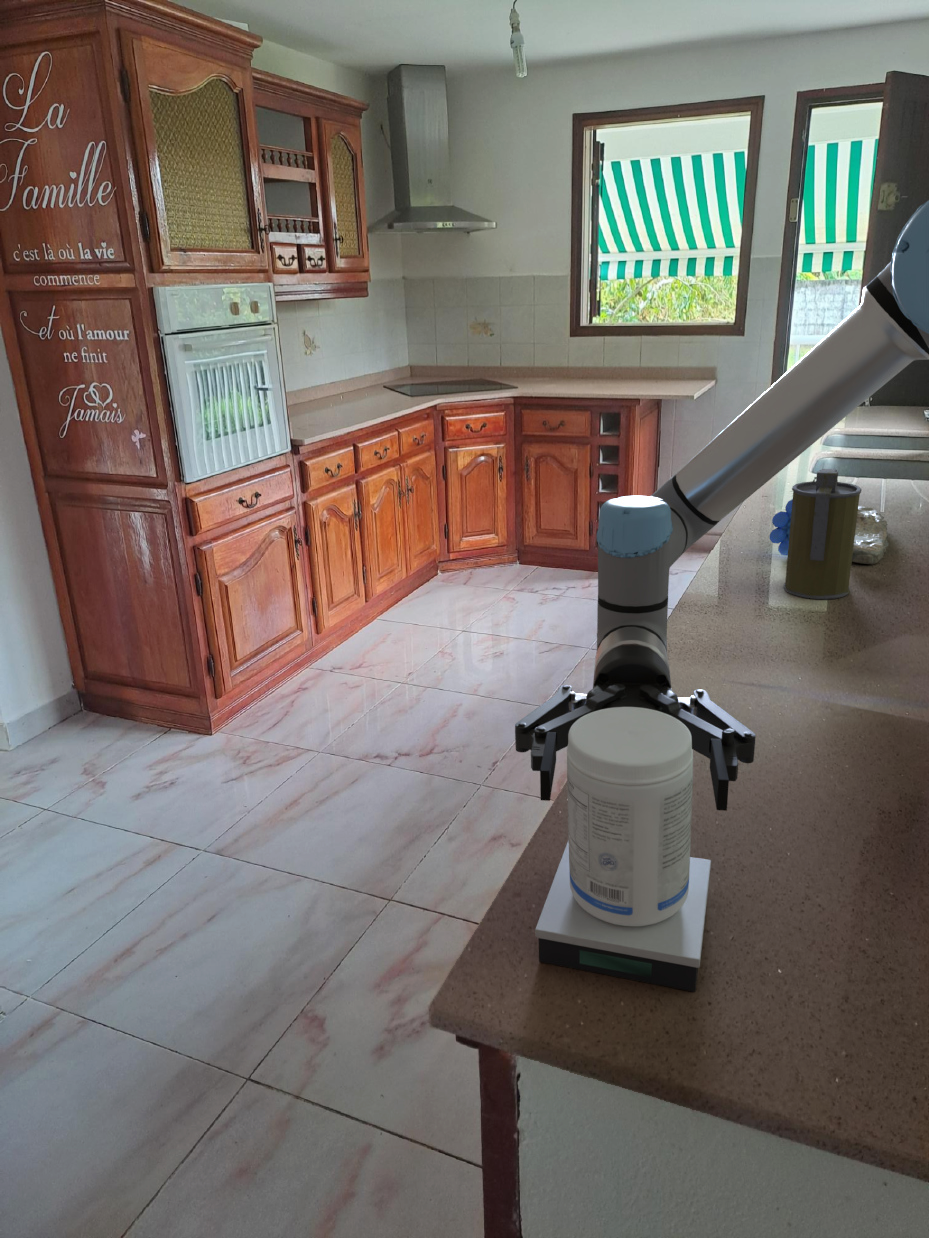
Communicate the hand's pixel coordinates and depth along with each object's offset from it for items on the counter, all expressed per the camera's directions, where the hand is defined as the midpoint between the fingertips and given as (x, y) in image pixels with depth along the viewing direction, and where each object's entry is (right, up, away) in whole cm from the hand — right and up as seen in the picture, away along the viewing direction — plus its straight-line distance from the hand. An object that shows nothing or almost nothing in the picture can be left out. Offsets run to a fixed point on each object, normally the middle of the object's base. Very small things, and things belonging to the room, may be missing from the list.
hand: (632, 790), depth 68 cm
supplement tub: (0, -9, +3) cm, 10 cm away
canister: (+46, +18, +79) cm, 93 cm away
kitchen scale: (0, -12, +4) cm, 13 cm away
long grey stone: (+65, +29, +105) cm, 127 cm away
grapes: (+50, +25, +98) cm, 113 cm away
